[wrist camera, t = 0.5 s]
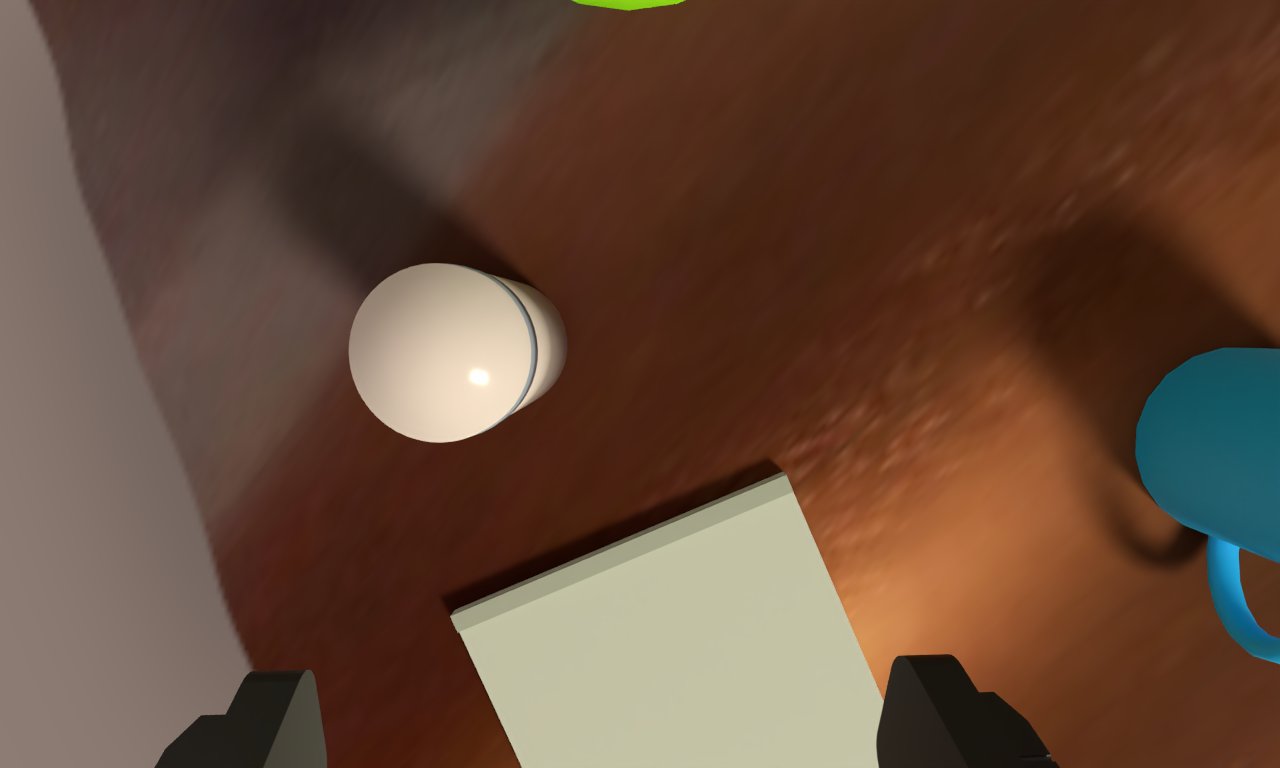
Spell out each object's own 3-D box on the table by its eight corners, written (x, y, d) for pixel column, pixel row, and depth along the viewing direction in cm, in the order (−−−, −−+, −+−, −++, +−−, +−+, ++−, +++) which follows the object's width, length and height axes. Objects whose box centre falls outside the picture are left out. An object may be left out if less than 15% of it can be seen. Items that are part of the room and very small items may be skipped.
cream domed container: (536, 257, 34) (481, 231, 24) (589, 378, 35) (557, 400, 25) (418, 310, 35) (317, 306, 25) (472, 429, 35) (393, 472, 25)
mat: (783, 471, 35) (786, 474, 34) (922, 794, 35) (928, 805, 35) (455, 609, 36) (450, 616, 35) (598, 919, 36) (596, 933, 36)
